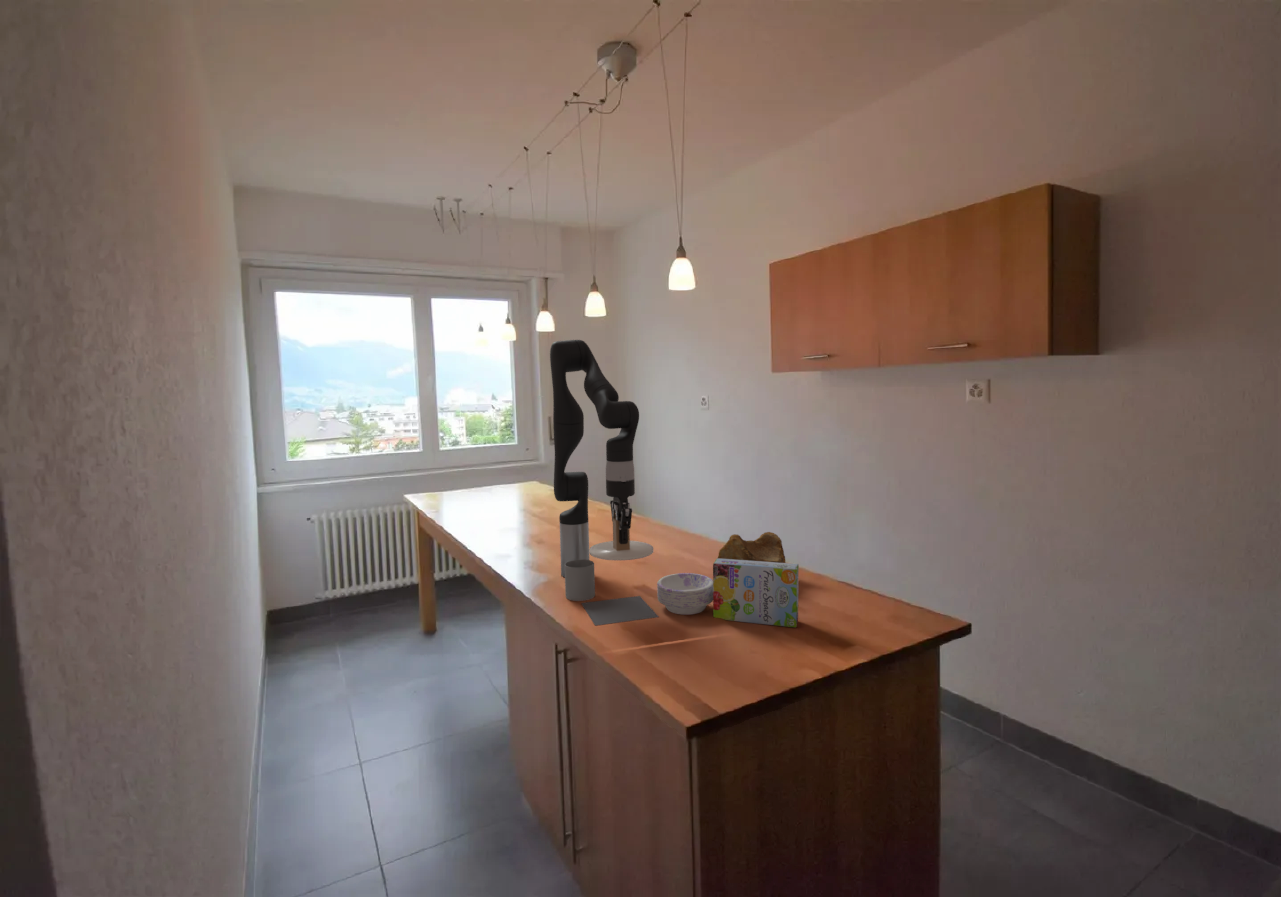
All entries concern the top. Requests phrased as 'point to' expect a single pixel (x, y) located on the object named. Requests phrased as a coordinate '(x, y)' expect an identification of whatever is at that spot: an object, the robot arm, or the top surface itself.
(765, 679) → the top surface
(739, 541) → the rough brown rock
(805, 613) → the top surface
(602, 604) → the mat
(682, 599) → the paper bowls
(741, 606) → the snack box
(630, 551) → the lid
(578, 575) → the cup
